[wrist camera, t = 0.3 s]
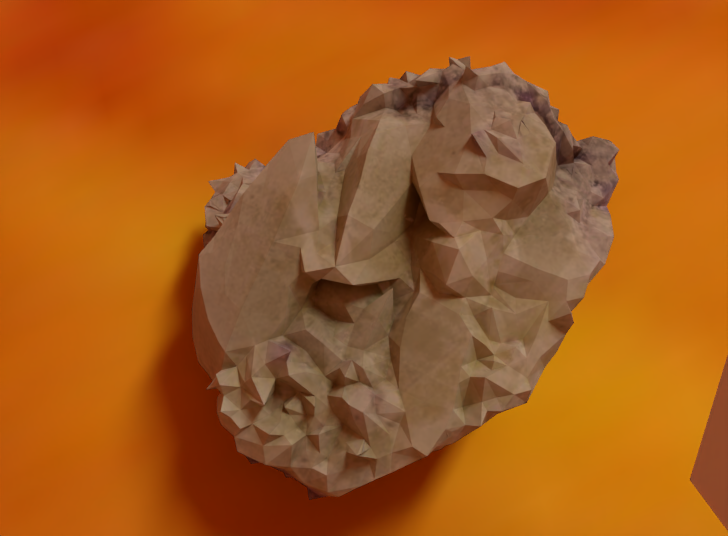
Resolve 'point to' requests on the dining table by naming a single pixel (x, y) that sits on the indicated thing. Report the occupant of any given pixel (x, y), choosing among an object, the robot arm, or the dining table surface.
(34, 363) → the dining table surface
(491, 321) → the geode
